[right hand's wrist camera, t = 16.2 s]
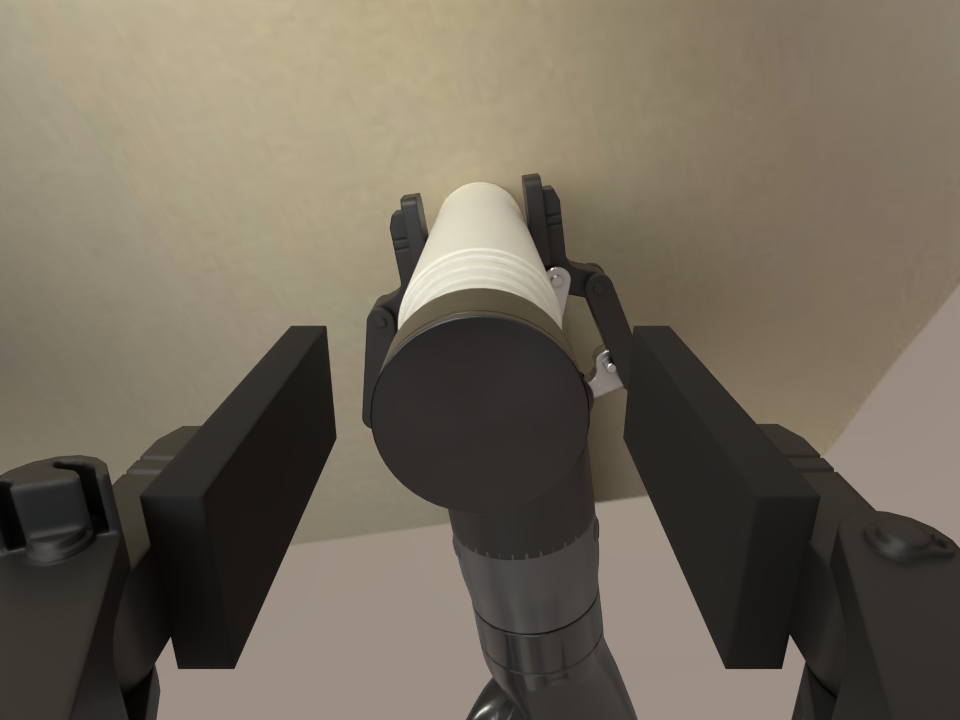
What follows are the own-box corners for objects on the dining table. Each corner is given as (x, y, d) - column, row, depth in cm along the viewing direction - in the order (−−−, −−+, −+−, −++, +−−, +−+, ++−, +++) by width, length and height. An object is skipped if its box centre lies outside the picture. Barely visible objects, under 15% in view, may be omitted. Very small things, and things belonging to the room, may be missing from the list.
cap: (611, 400, 15) (631, 444, 13) (458, 493, 15) (455, 547, 13) (504, 247, 13) (509, 270, 11) (345, 358, 14) (324, 396, 12)
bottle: (437, 267, 35) (371, 502, 14) (437, 180, 33) (361, 297, 12) (520, 269, 35) (584, 507, 14) (524, 182, 33) (603, 302, 12)
